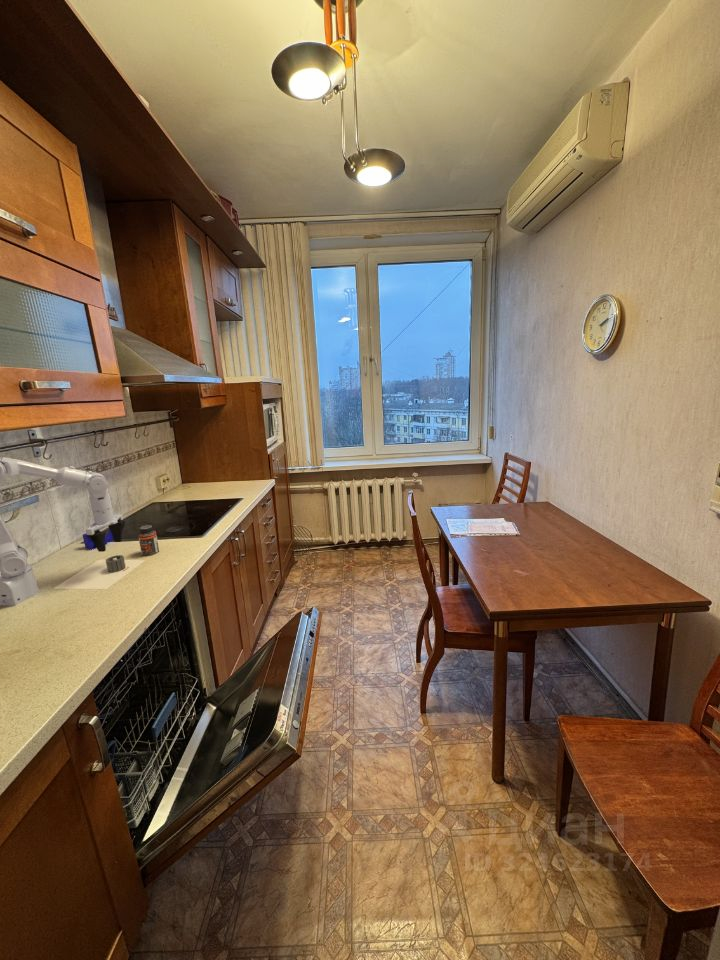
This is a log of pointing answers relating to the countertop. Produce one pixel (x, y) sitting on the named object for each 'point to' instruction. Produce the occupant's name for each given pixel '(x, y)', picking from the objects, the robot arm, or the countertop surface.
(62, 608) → the countertop surface
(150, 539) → the supplement bottle
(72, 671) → the countertop surface
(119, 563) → the grey grooved ring
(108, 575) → the socket plate
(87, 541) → the blue curved bracket
